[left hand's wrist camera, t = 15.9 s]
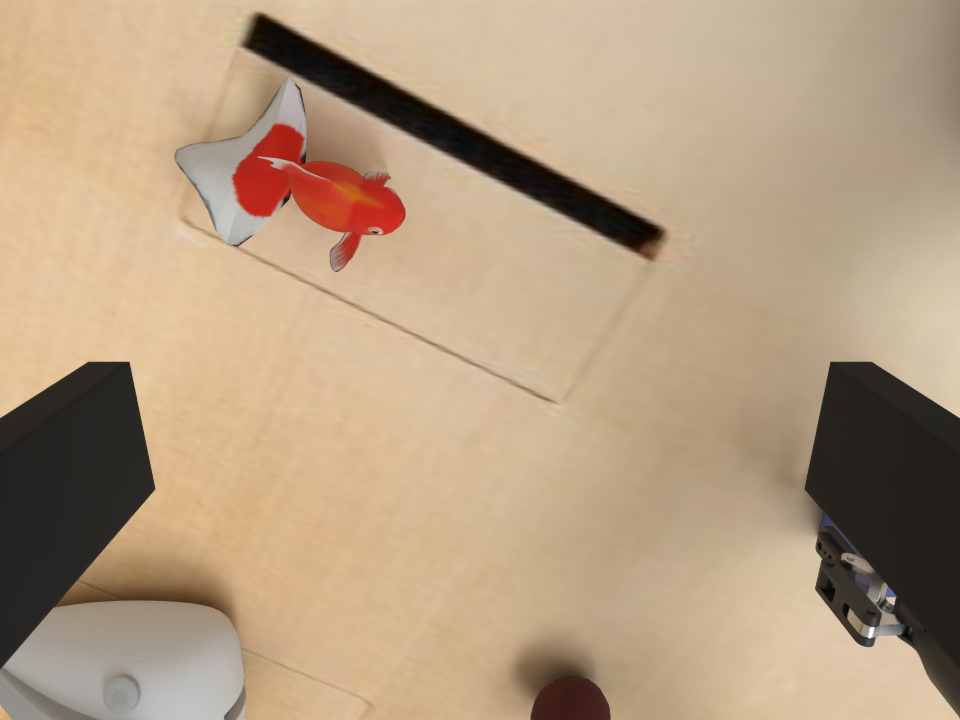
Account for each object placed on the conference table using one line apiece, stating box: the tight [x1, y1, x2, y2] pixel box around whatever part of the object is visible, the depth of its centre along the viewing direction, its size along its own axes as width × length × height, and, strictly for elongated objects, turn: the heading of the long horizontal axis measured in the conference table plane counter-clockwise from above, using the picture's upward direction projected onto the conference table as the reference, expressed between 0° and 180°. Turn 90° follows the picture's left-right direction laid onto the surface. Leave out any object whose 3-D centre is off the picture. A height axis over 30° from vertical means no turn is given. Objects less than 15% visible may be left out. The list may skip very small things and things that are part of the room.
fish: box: [175, 77, 405, 272], centre depth 43 cm, size 11×16×10 cm
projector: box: [0, 600, 247, 720], centre depth 55 cm, size 22×23×15 cm
